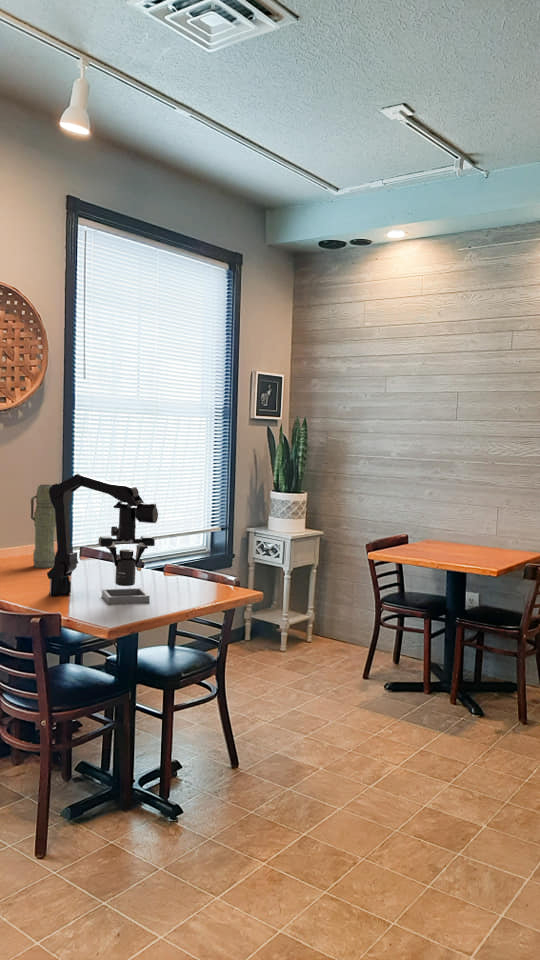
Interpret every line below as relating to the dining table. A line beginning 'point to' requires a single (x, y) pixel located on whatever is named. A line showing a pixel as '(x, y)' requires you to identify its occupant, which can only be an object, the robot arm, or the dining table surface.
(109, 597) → the tray
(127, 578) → the supplement bottle
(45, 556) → the thermos
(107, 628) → the dining table surface
